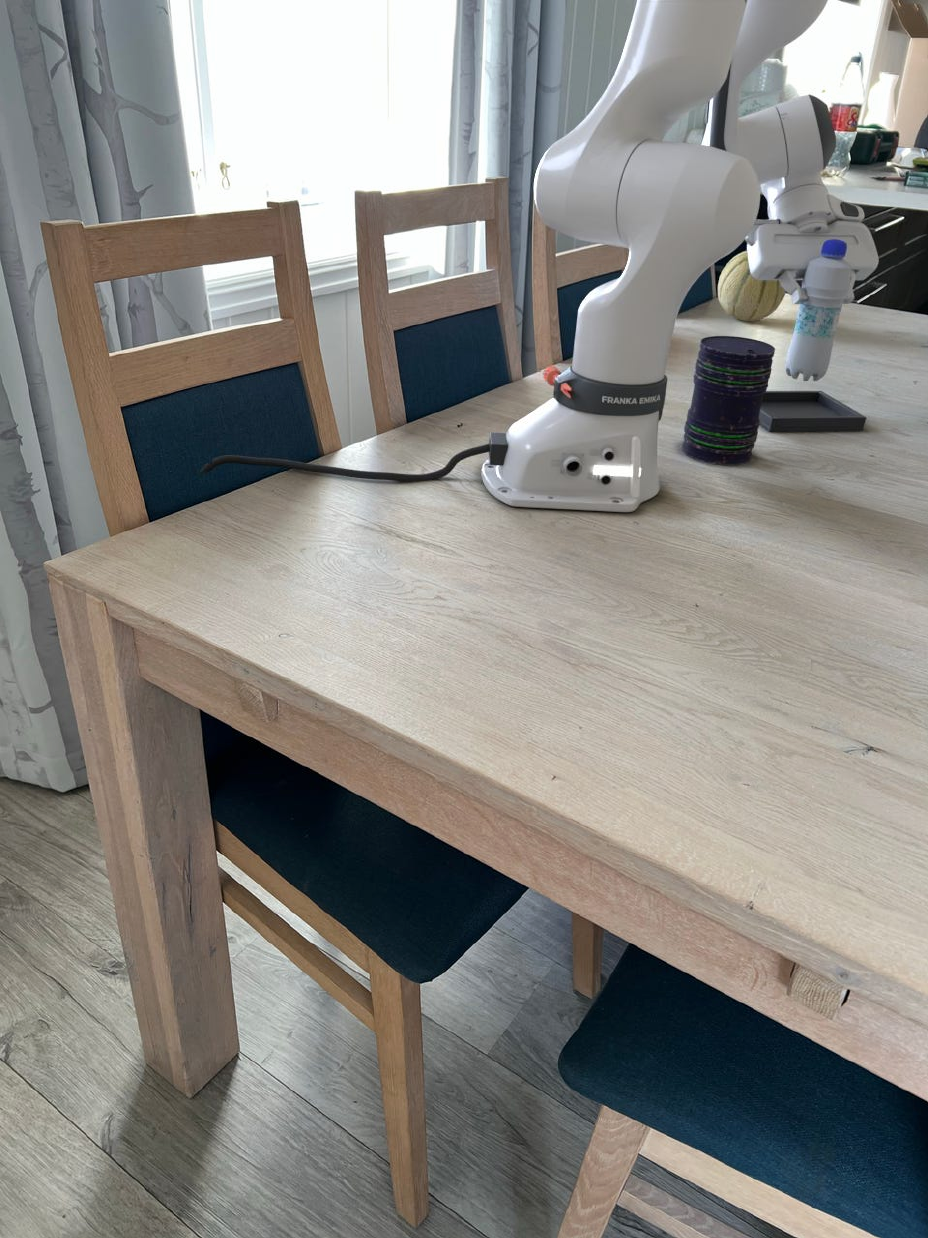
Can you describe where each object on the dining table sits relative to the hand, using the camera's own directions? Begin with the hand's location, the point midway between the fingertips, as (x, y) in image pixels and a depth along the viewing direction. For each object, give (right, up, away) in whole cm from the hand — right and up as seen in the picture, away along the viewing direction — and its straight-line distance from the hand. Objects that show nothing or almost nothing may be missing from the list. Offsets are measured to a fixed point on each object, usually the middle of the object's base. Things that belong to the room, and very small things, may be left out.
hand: (824, 301), depth 139 cm
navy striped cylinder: (-18, -24, -7) cm, 30 cm away
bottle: (-1, -10, +6) cm, 12 cm away
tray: (-1, -15, +9) cm, 18 cm away
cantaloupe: (+9, +19, +70) cm, 73 cm away
